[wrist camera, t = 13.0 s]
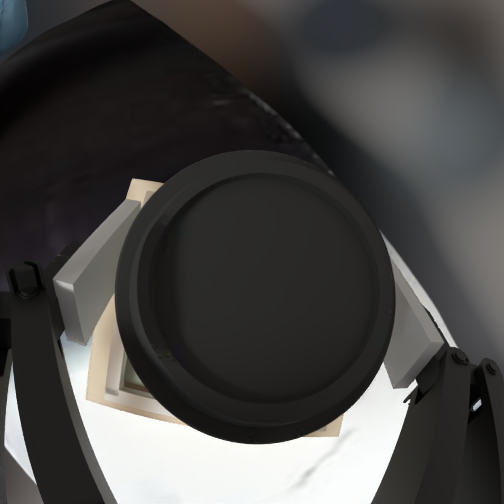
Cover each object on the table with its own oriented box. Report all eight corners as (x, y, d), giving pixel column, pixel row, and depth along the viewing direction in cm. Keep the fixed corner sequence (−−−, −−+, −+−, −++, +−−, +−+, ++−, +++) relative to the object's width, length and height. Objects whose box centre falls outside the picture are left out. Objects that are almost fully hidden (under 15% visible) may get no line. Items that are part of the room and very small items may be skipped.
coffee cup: (287, 251, 23) (403, 139, 8) (293, 371, 21) (437, 425, 6) (166, 251, 21) (110, 117, 7) (168, 376, 19) (98, 468, 5)
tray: (101, 390, 22) (78, 403, 16) (141, 198, 27) (128, 169, 21) (321, 423, 24) (346, 442, 19) (345, 238, 29) (372, 220, 23)
